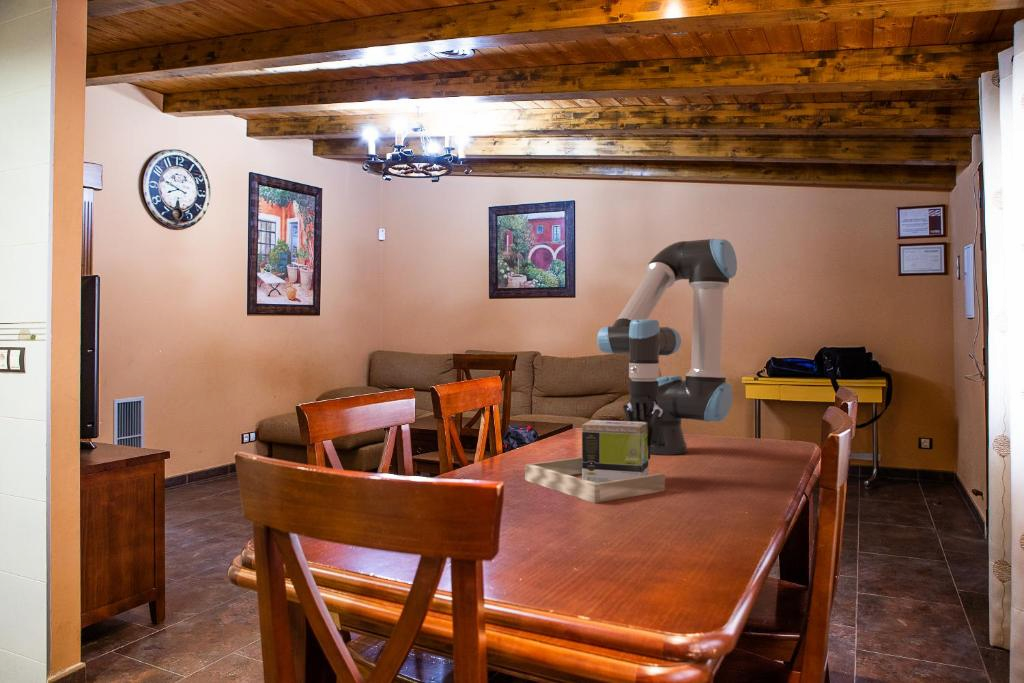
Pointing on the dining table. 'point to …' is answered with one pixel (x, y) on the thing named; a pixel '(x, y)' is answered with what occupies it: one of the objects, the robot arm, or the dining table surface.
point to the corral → (560, 480)
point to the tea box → (614, 450)
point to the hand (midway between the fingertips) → (642, 471)
